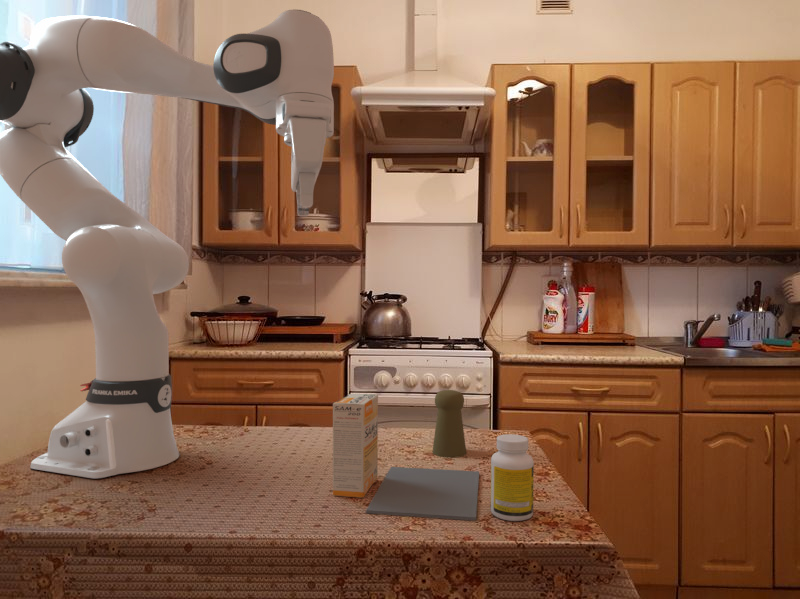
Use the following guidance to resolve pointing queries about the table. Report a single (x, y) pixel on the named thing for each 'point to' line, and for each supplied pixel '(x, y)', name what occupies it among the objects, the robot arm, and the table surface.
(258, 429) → the table surface
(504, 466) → the supplement bottle
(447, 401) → the green pepper mill
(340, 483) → the supplement box
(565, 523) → the table surface
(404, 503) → the mat
